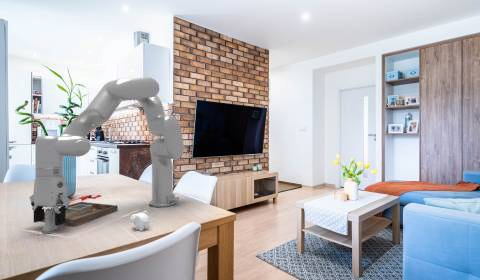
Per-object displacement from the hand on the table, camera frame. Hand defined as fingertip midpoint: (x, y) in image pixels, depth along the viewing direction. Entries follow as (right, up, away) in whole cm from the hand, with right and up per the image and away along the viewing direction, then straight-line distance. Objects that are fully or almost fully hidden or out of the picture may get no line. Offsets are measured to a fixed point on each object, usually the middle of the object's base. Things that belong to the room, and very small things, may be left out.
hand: (49, 222), depth 87 cm
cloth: (-17, -3, +40) cm, 44 cm away
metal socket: (-2, -2, +20) cm, 20 cm away
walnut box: (0, -3, +16) cm, 16 cm away
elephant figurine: (+29, -4, +4) cm, 30 cm away
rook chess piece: (0, -4, 0) cm, 4 cm away
